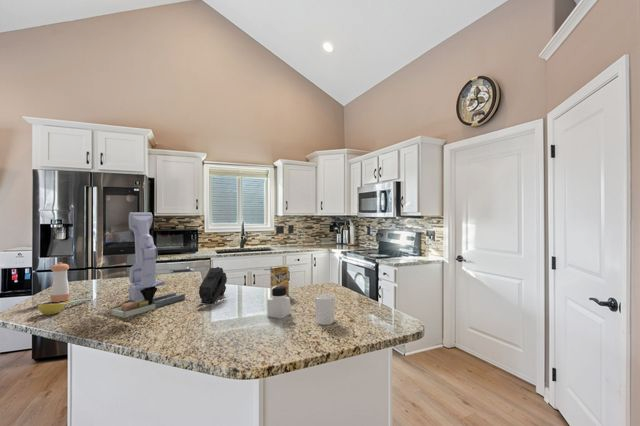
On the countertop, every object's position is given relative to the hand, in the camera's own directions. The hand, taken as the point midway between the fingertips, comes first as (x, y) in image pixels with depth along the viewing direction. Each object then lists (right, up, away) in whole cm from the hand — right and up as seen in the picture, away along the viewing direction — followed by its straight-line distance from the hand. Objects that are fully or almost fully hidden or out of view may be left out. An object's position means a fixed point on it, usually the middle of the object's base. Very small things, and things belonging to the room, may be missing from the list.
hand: (148, 304), depth 137 cm
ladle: (-39, -3, +3) cm, 39 cm away
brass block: (-2, -2, -3) cm, 4 cm away
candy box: (+56, -2, +22) cm, 60 cm away
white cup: (+79, -2, -18) cm, 81 cm away
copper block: (-4, -2, -7) cm, 8 cm away
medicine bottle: (+60, -2, -9) cm, 61 cm away
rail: (+4, -2, +7) cm, 8 cm away
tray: (-3, -2, -6) cm, 7 cm away
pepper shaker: (-53, -3, +15) cm, 55 cm away
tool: (+25, -2, +14) cm, 28 cm away
